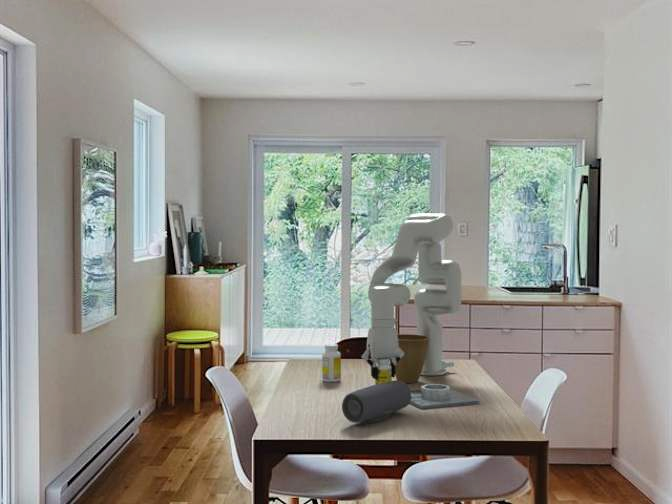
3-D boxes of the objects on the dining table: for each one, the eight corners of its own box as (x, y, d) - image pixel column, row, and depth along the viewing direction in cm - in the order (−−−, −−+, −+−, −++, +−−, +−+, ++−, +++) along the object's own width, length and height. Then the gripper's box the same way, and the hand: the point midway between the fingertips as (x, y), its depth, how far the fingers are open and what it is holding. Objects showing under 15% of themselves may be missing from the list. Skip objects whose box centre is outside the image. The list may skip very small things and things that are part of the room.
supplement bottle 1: (341, 378, 283) (341, 343, 283) (340, 382, 277) (340, 346, 276) (323, 378, 284) (323, 343, 284) (321, 382, 277) (321, 346, 277)
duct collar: (448, 390, 263) (448, 378, 263) (479, 403, 244) (479, 390, 244) (394, 395, 256) (394, 383, 256) (421, 409, 237) (421, 396, 237)
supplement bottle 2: (372, 388, 259) (372, 359, 259) (379, 385, 264) (379, 356, 264) (387, 390, 257) (387, 360, 256) (394, 386, 262) (393, 357, 261)
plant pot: (415, 387, 268) (415, 341, 268) (379, 382, 277) (379, 337, 277) (436, 380, 280) (437, 335, 279) (401, 375, 289) (401, 332, 288)
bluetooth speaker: (387, 409, 237) (387, 376, 237) (412, 414, 232) (412, 380, 231) (340, 424, 220) (339, 389, 220) (366, 430, 214) (366, 393, 214)
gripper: (401, 320, 266) (402, 373, 267) (354, 323, 260) (355, 377, 261) (411, 323, 259) (411, 377, 260) (362, 326, 253) (363, 382, 254)
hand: (383, 377), depth 260 cm, fingers closed on supplement bottle 2, 5 cm apart
